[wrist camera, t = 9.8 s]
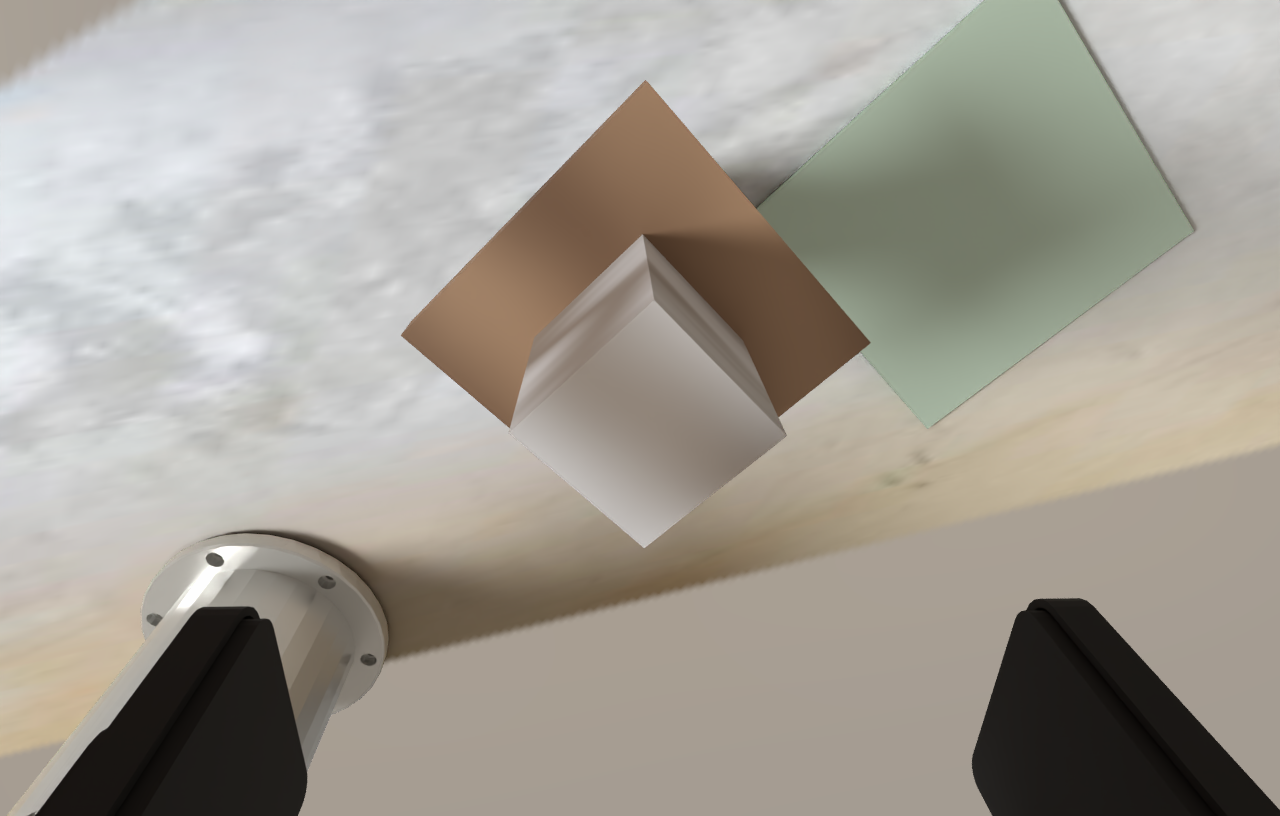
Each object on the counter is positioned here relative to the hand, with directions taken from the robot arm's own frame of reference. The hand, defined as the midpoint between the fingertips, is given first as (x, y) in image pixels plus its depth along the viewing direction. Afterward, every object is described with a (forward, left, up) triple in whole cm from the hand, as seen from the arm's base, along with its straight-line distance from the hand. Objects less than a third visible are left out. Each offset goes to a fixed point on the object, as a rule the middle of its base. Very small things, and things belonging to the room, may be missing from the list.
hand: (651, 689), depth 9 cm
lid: (0, 0, -13) cm, 13 cm away
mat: (+11, -10, -25) cm, 29 cm away
